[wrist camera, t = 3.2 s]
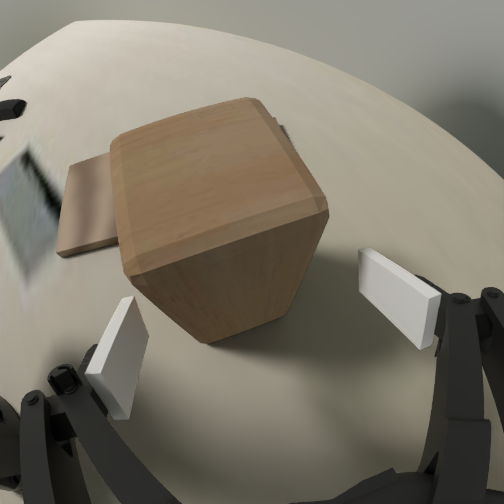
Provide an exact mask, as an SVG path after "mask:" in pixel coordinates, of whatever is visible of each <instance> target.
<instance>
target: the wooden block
mask: <svg viewBox="0 0 504 504" xmlns="http://www.w3.org/2000/svg"><path fill="white" fill-rule="evenodd" d="M110 169H111V182H112V193H113V203H114V212H115V220H116V228H117V235H118V242H119V248H120V254H121V260H122V266H123V271H124V274H125V275H126V276H127V278H128V279H129V281H130V282H131V283H132V285H133V286H134V287H135V288H137V289H138V290H139V291H140V292H141V293H142V294H143V295H144V296H145V297H146V298H148V299H149V300H150V301H151V302H152V303H153V304H154V305H156V306H157V307H158V308H159V309H160V310H161V311H162V312H164V313H165V314H166V315H167V316H168V317H169V318H171V319H172V320H173V321H174V322H175V323H177V324H178V325H179V326H180V327H181V328H183V329H184V330H185V331H186V332H188V333H189V334H190V335H191V336H193V337H194V338H195V339H196V340H198V341H199V342H200V343H204V344H209V343H212V342H215V341H218V340H221V339H224V338H227V337H229V336H232V335H235V334H238V333H241V332H243V331H246V330H249V329H252V328H254V327H257V326H260V325H262V324H265V323H267V322H270V321H273V320H275V319H278V318H280V317H283V316H284V315H285V314H286V313H287V312H288V310H289V308H290V306H291V304H292V301H293V299H294V297H295V295H296V293H297V290H298V288H299V286H300V284H301V282H302V279H303V277H304V275H305V273H306V270H307V268H308V266H309V264H310V261H311V259H312V257H313V254H314V252H315V250H316V247H317V245H318V243H319V240H320V238H321V236H322V233H323V231H324V229H325V226H326V224H327V221H328V219H329V210H328V203H327V200H326V197H325V195H324V193H323V192H322V190H321V189H320V187H319V185H318V184H317V182H316V181H315V179H314V178H313V176H312V174H311V173H310V171H309V170H308V168H307V167H306V165H305V164H304V162H303V161H302V159H301V158H300V156H299V155H298V153H297V152H296V150H295V149H294V147H293V146H292V144H291V143H290V142H289V140H288V139H287V137H286V136H285V134H284V133H283V132H282V130H281V129H280V127H279V126H278V125H277V123H276V122H275V120H274V119H273V118H272V116H271V115H270V114H269V112H268V111H267V109H266V108H265V107H264V105H263V104H262V103H261V101H259V100H257V99H255V98H247V97H244V98H240V99H235V100H231V101H226V102H222V103H218V104H214V105H210V106H206V107H203V108H199V109H195V110H192V111H188V112H185V113H181V114H178V115H175V116H172V117H168V118H165V119H162V120H159V121H156V122H153V123H150V124H147V125H144V126H142V127H139V128H136V129H133V130H131V131H128V132H125V133H123V134H120V135H119V136H118V137H116V138H115V139H114V140H113V141H112V143H111V145H110Z"/></svg>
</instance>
